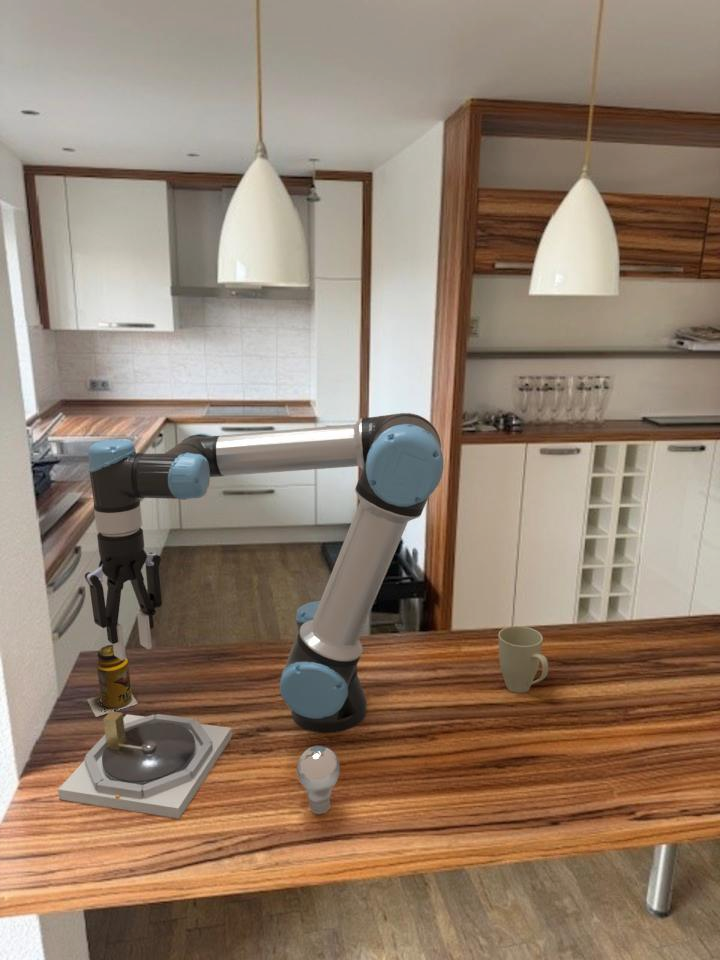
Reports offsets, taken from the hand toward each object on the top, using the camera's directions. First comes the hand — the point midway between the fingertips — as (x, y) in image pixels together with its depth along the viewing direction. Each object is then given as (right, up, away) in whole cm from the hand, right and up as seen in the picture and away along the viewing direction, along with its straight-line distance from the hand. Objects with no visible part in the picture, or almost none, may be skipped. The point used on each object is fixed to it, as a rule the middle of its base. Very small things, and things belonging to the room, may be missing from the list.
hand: (133, 651), depth 129 cm
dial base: (+3, -21, -1) cm, 21 cm away
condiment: (-10, -15, +19) cm, 27 cm away
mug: (+75, -13, +22) cm, 80 cm away
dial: (+3, -18, -1) cm, 19 cm away
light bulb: (+34, -24, -12) cm, 44 cm away
